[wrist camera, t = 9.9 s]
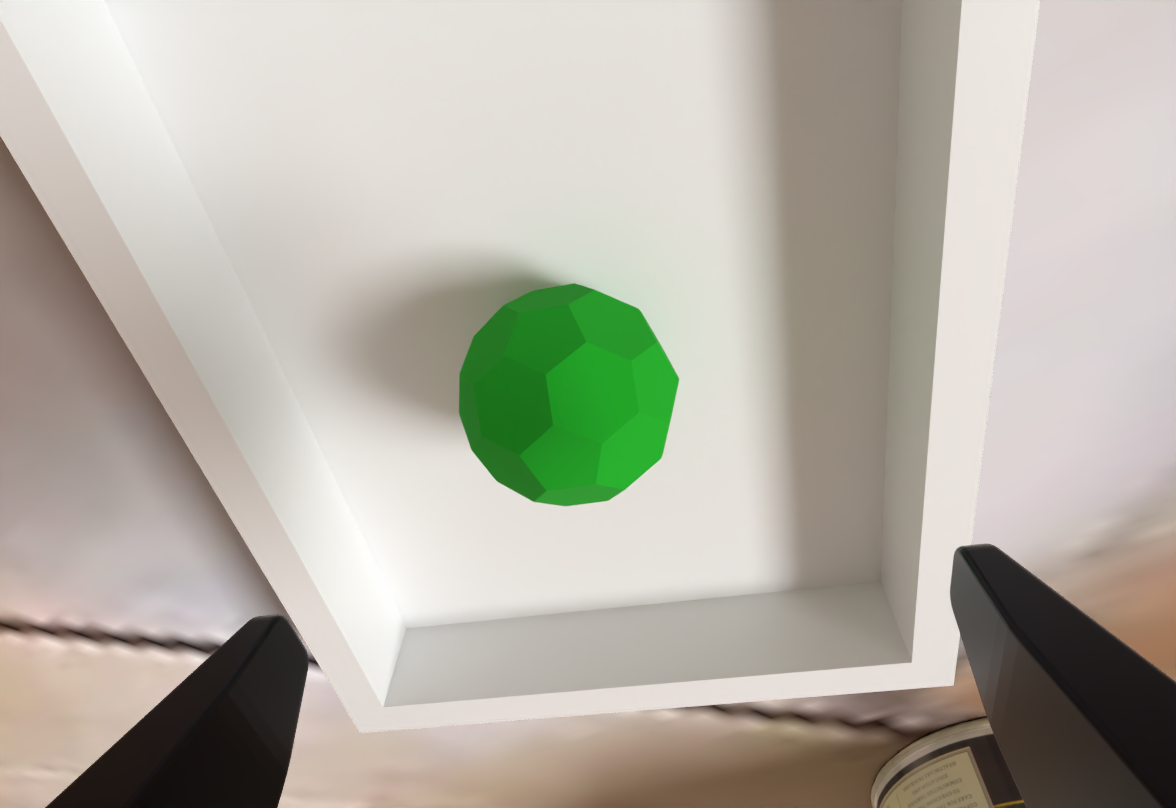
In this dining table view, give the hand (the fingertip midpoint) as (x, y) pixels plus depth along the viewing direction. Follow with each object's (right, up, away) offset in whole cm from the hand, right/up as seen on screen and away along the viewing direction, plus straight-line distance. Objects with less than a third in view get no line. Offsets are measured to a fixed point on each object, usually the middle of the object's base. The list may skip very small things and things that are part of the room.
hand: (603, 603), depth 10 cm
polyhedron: (0, +4, +9) cm, 10 cm away
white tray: (0, +5, +10) cm, 11 cm away
